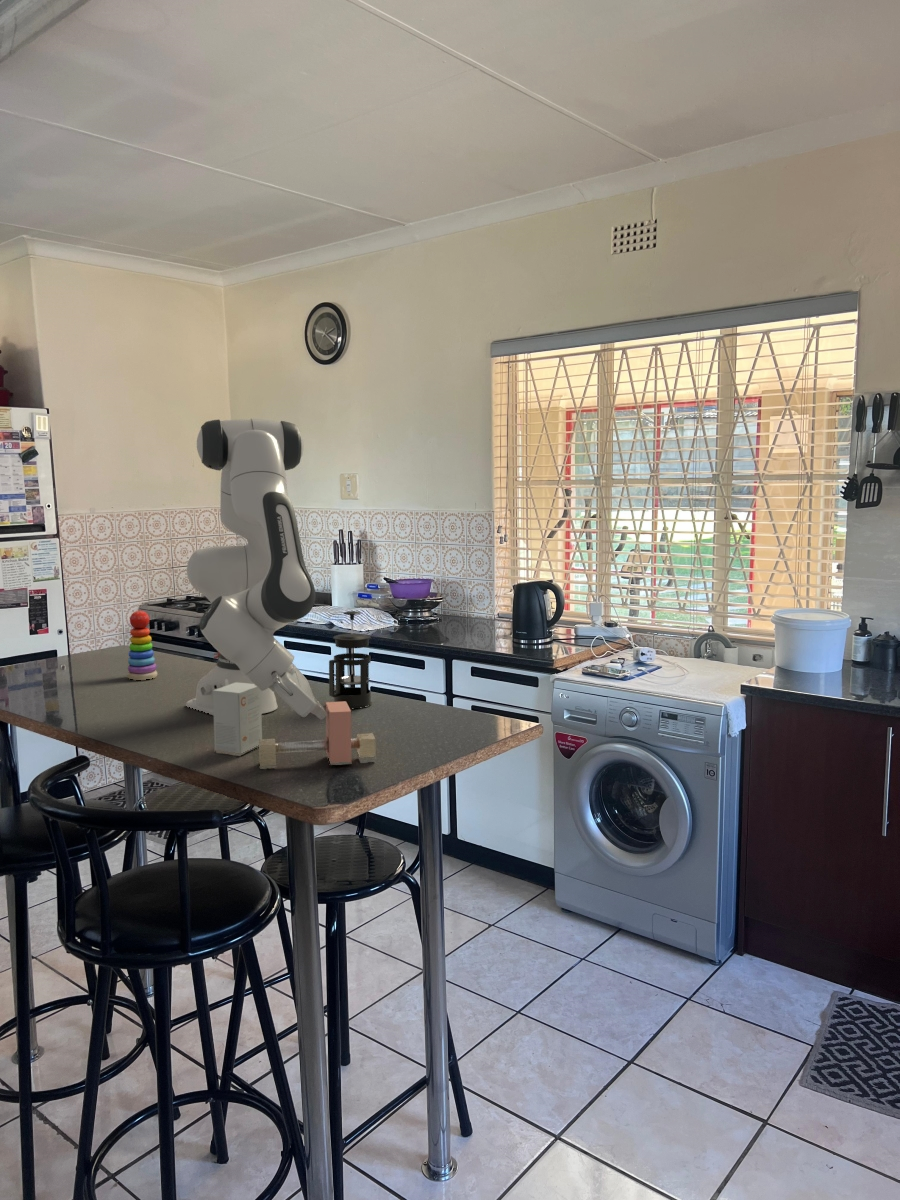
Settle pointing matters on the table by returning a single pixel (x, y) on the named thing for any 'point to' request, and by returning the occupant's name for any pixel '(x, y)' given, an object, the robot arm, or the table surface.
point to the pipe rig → (312, 747)
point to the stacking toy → (141, 649)
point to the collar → (338, 731)
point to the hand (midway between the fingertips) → (324, 715)
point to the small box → (237, 717)
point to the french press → (352, 695)
